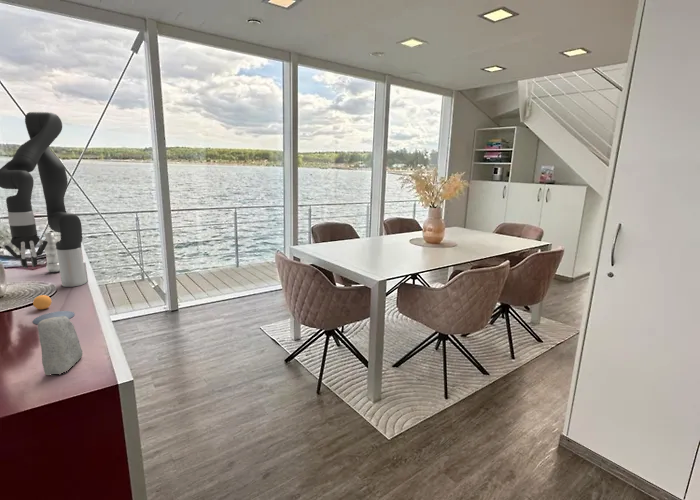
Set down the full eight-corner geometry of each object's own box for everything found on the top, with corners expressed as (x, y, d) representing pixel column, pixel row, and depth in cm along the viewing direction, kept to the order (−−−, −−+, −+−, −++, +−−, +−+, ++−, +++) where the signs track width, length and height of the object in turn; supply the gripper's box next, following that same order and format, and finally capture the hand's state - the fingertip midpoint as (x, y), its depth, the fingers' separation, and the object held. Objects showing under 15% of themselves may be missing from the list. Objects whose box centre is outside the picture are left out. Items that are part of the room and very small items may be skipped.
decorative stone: (67, 356, 110) (59, 308, 107) (88, 355, 110) (81, 308, 107) (40, 376, 99) (31, 324, 96) (64, 376, 100) (55, 324, 96)
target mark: (54, 310, 142) (54, 309, 142) (82, 312, 141) (82, 312, 141) (23, 323, 131) (23, 322, 131) (54, 325, 129) (54, 325, 129)
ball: (43, 305, 147) (41, 292, 145) (56, 306, 146) (54, 293, 145) (30, 311, 141) (27, 297, 140) (43, 312, 141) (40, 298, 139)
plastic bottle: (66, 270, 193) (61, 232, 188) (52, 274, 186) (46, 235, 182) (58, 269, 195) (52, 231, 190) (44, 272, 188) (37, 234, 184)
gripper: (0, 226, 134) (9, 272, 138) (47, 222, 145) (54, 265, 149) (-5, 224, 139) (4, 268, 143) (42, 220, 150) (48, 262, 153)
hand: (30, 266), depth 146 cm, fingers closed
